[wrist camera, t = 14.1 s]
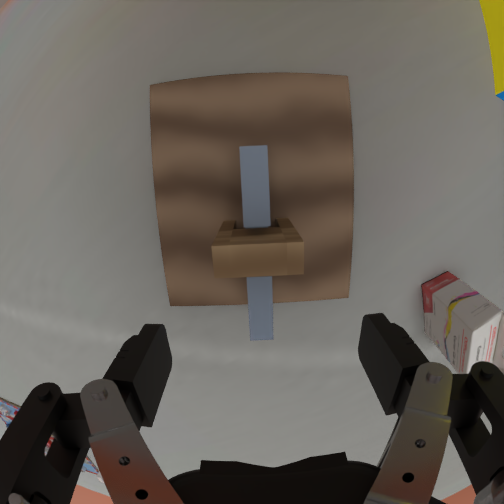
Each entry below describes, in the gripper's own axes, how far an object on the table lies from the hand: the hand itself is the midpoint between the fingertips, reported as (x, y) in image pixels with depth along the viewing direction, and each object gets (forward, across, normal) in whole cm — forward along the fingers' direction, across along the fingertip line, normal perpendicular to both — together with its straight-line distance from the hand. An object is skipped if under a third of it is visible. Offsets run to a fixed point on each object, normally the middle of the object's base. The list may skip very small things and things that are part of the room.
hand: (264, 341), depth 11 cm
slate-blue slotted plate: (+19, 0, 0) cm, 19 cm away
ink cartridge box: (+20, -24, +11) cm, 33 cm away
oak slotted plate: (+19, 0, 0) cm, 19 cm away
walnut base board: (+20, 0, -4) cm, 20 cm away
